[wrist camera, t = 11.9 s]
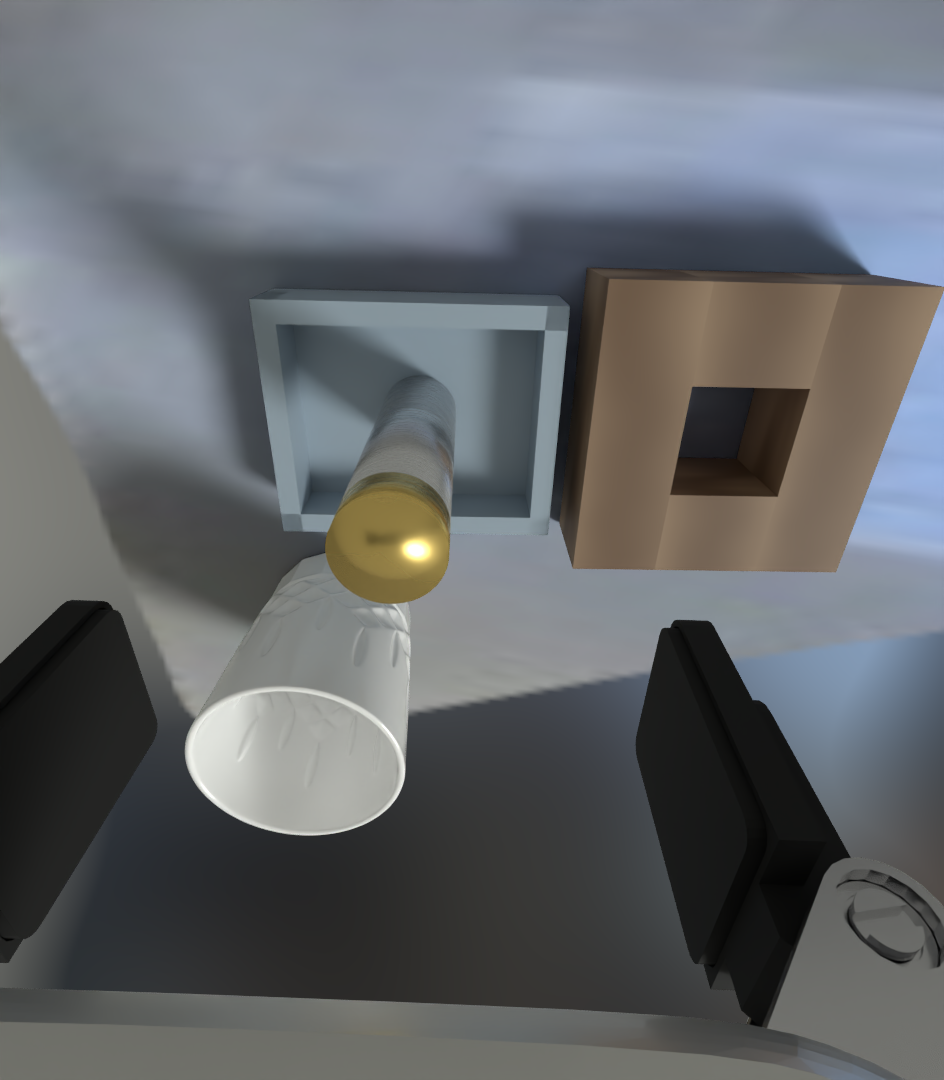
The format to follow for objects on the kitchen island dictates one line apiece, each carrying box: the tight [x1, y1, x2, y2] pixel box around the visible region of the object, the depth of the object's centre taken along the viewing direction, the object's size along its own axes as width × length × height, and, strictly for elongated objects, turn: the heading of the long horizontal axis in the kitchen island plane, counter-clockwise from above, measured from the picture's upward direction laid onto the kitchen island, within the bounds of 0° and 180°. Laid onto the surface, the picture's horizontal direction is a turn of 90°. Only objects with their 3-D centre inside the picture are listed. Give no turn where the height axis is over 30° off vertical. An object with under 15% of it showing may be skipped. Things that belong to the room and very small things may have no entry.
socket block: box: [559, 268, 944, 572], centre depth 24 cm, size 11×11×4 cm
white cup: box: [185, 553, 411, 835], centre depth 26 cm, size 8×8×10 cm
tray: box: [249, 288, 570, 535], centre depth 24 cm, size 11×9×3 cm
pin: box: [325, 375, 456, 604], centre depth 19 cm, size 3×3×12 cm
